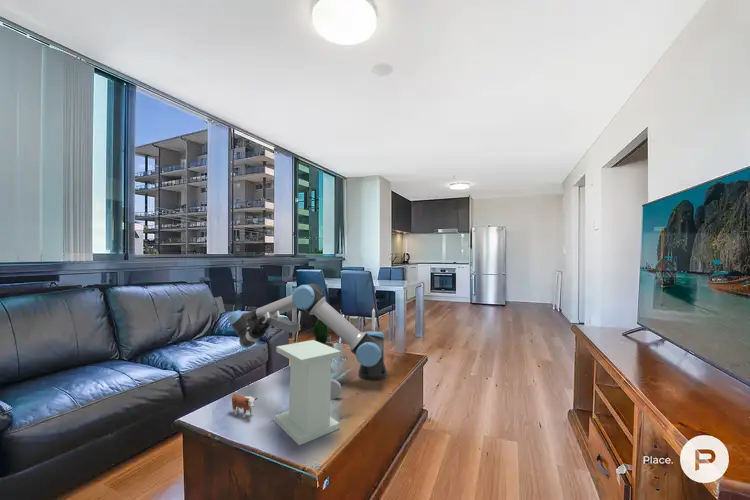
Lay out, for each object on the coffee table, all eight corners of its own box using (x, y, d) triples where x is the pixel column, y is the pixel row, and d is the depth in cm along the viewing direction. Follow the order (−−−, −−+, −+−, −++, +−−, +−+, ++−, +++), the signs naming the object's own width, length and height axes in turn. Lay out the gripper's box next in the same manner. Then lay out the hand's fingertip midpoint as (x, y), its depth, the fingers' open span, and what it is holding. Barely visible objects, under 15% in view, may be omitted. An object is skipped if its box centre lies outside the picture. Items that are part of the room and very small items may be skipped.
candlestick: (382, 362, 185) (383, 304, 186) (364, 362, 184) (365, 304, 185) (380, 356, 196) (381, 302, 197) (363, 357, 195) (364, 301, 196)
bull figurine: (249, 422, 114) (250, 400, 115) (228, 412, 121) (229, 392, 122) (259, 417, 118) (260, 396, 118) (238, 408, 125) (239, 388, 125)
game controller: (341, 398, 137) (342, 379, 137) (340, 400, 134) (340, 381, 135) (300, 393, 140) (301, 375, 140) (298, 396, 138) (299, 377, 138)
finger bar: (260, 320, 144) (260, 314, 144) (270, 319, 147) (270, 313, 147) (289, 332, 122) (289, 325, 122) (300, 331, 125) (300, 323, 125)
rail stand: (274, 420, 116) (276, 346, 117) (311, 408, 126) (313, 339, 127) (299, 445, 101) (301, 359, 102) (339, 428, 111) (341, 351, 112)
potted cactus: (307, 367, 174) (309, 314, 175) (334, 367, 175) (336, 314, 176) (302, 377, 159) (303, 319, 160) (332, 377, 159) (333, 320, 160)
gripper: (273, 336, 157) (292, 320, 143) (239, 341, 146) (255, 324, 131) (271, 322, 160) (289, 305, 146) (237, 326, 149) (253, 308, 134)
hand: (273, 314), depth 138 cm, fingers closed on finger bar, 4 cm apart
